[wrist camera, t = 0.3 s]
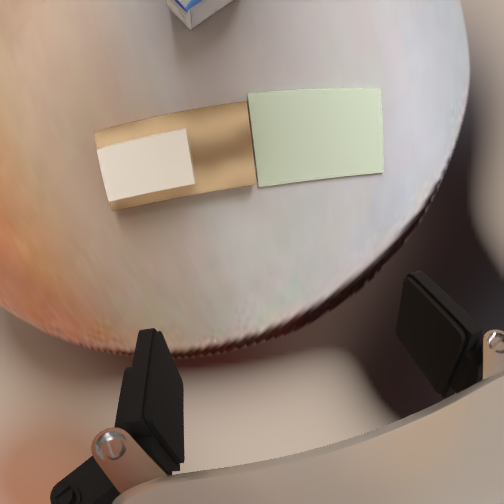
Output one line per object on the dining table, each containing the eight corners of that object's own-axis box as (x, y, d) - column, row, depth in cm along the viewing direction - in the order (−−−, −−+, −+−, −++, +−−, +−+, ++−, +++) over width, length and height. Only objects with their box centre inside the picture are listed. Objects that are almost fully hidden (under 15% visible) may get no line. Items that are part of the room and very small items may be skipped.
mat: (247, 93, 34) (247, 93, 34) (379, 88, 36) (380, 88, 35) (258, 186, 40) (258, 187, 39) (382, 171, 41) (383, 172, 41)
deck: (99, 130, 33) (93, 132, 31) (244, 101, 35) (246, 101, 33) (116, 205, 38) (111, 211, 36) (253, 179, 39) (256, 184, 37)
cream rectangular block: (104, 146, 32) (96, 150, 30) (187, 127, 33) (185, 129, 30) (115, 194, 35) (108, 201, 32) (195, 177, 36) (194, 183, 33)
